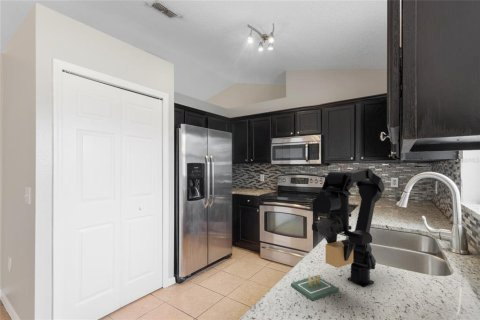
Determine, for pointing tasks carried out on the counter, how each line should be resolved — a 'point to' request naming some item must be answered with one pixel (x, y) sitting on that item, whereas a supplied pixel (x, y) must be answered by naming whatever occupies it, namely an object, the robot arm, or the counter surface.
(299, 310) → the counter surface
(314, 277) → the board
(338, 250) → the block
